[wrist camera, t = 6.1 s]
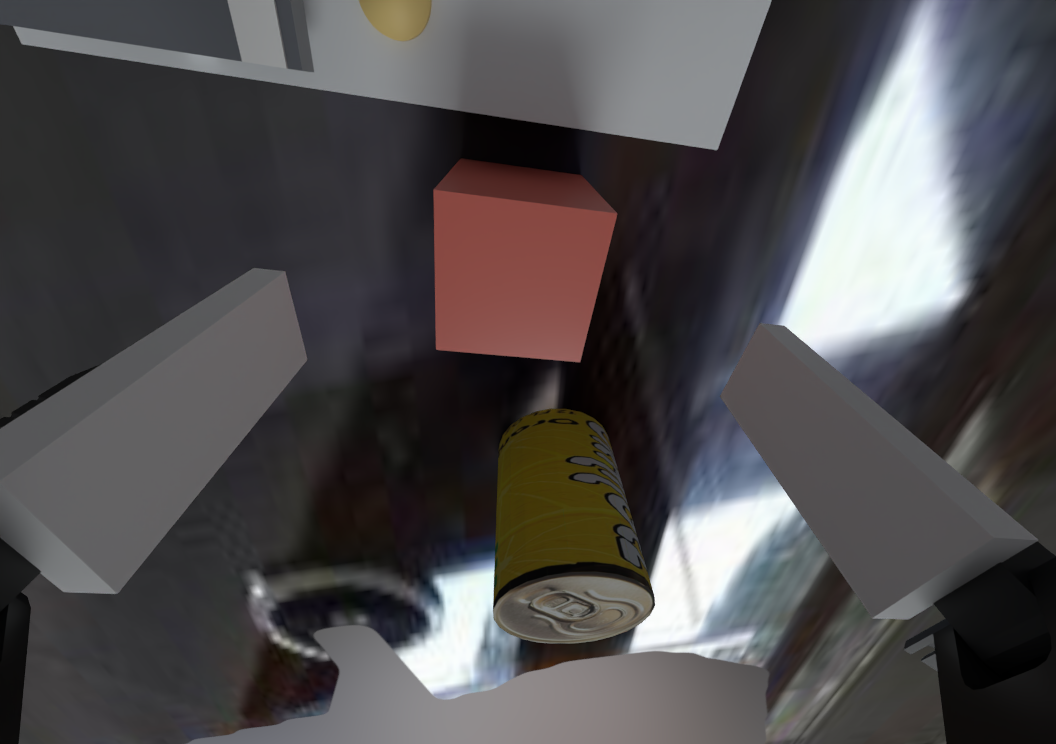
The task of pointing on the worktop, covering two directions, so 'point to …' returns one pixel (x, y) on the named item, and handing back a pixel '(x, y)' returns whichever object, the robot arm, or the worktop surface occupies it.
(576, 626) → the beverage can
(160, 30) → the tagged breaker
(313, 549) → the worktop surface
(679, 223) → the worktop surface
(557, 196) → the red rectangular block
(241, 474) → the worktop surface
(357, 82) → the panel
